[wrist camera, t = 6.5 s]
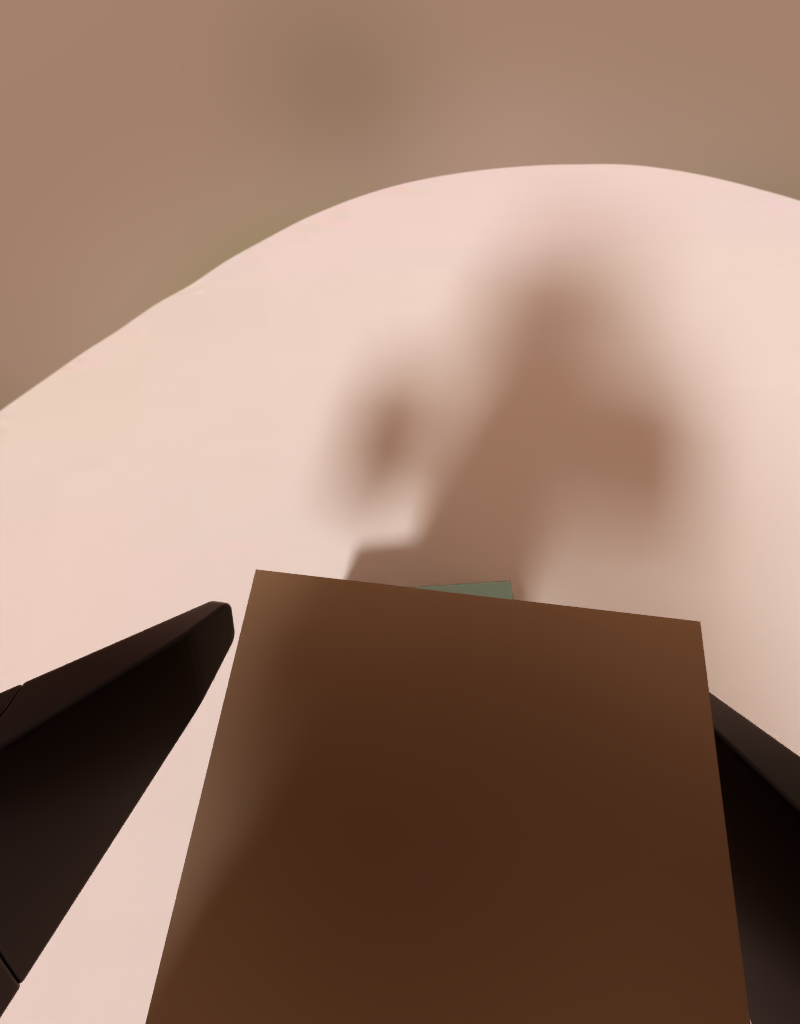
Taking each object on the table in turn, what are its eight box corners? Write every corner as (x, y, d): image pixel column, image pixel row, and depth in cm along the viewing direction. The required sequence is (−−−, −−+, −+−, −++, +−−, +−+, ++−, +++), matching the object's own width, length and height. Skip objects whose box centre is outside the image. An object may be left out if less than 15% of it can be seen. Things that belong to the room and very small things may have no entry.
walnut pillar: (483, 779, 14) (794, 1389, 3) (351, 759, 15) (99, 1215, 3) (489, 639, 16) (700, 622, 4) (370, 624, 16) (256, 569, 5)
